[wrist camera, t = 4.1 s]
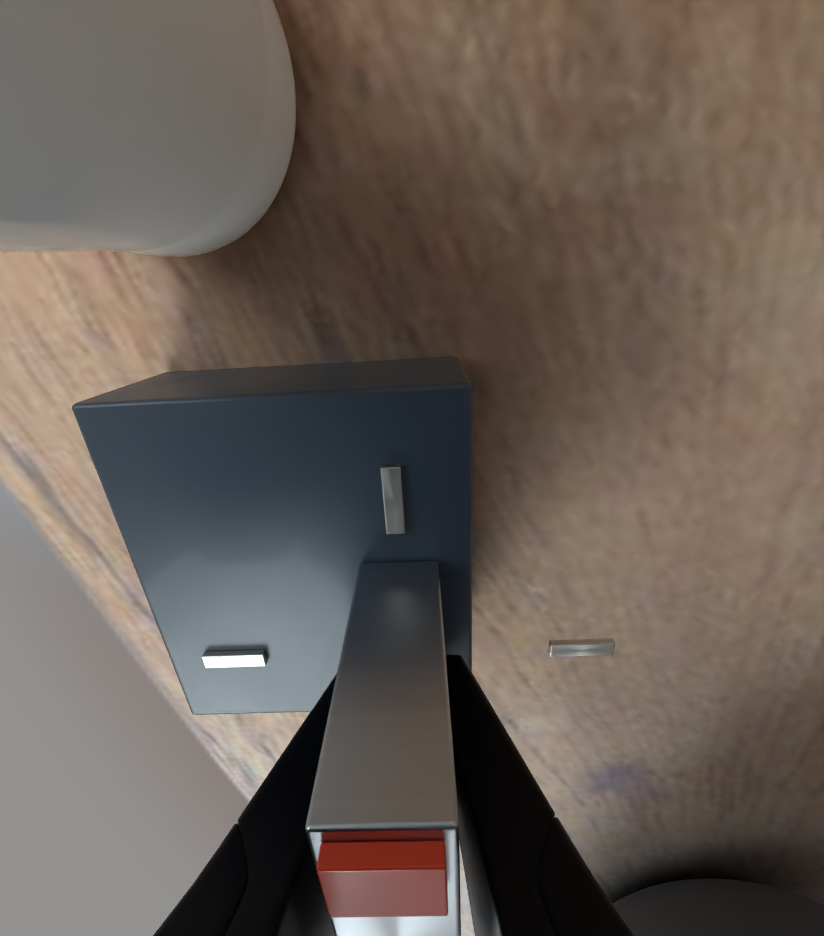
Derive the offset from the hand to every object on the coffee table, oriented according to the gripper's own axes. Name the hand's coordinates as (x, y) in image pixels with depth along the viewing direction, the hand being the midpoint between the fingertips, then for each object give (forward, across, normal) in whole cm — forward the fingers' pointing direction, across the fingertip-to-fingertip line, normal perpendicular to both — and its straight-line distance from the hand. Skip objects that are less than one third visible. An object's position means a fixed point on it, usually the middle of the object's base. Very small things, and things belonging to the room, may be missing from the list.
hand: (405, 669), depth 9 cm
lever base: (+3, 0, -1) cm, 4 cm away
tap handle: (0, 0, 0) cm, 0 cm away
